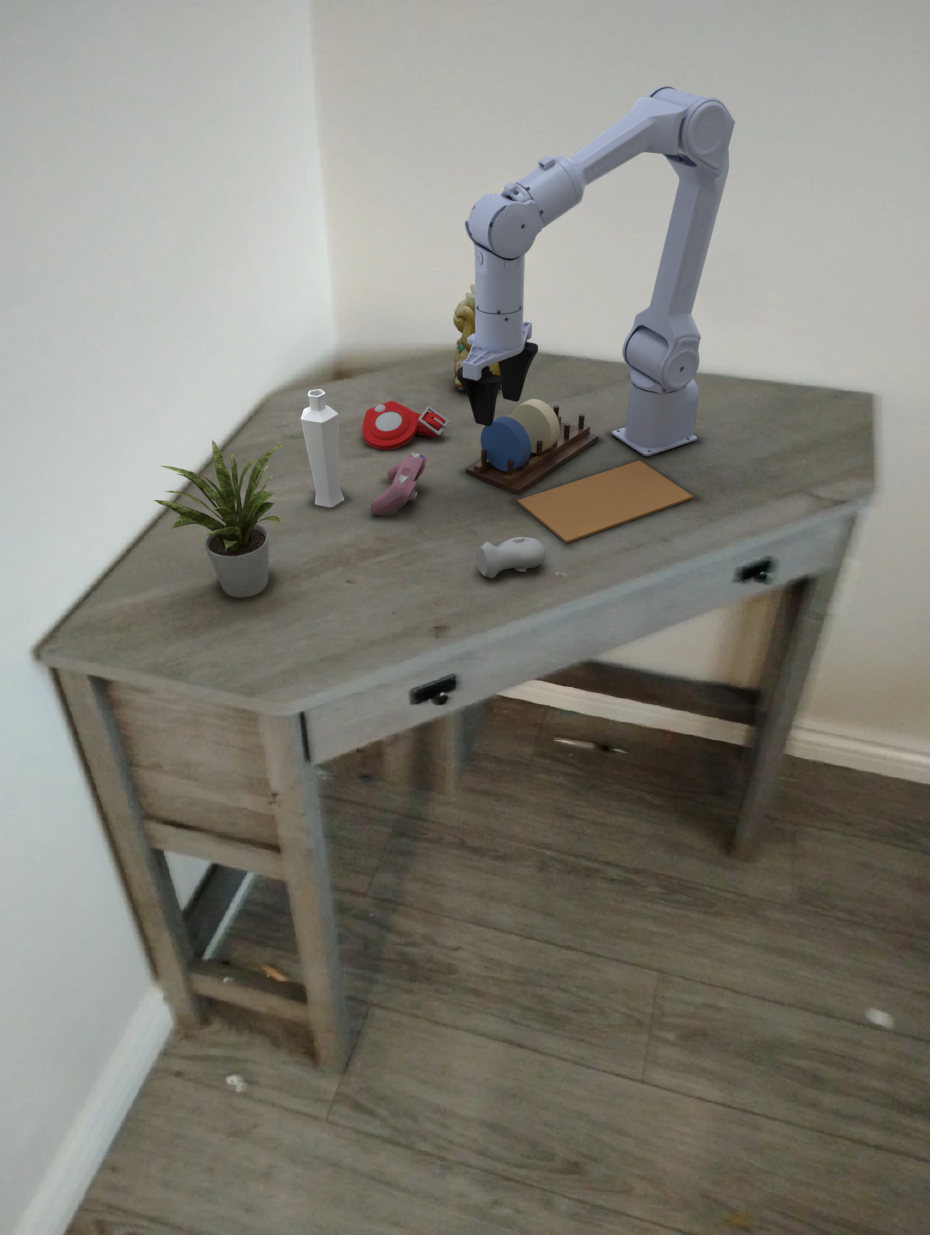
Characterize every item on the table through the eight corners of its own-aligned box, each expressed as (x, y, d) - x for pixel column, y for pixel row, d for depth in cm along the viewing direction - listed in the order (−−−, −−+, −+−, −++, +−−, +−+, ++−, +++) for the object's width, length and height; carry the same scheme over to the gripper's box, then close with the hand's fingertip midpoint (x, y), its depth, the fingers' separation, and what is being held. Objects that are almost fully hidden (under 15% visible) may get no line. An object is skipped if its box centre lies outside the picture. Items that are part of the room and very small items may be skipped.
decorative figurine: (457, 370, 152) (456, 278, 142) (508, 372, 151) (509, 279, 142) (450, 396, 144) (448, 300, 135) (503, 398, 144) (505, 302, 134)
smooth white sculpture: (536, 561, 112) (550, 573, 108) (472, 570, 111) (484, 583, 106) (534, 526, 111) (549, 537, 106) (469, 535, 109) (481, 547, 104)
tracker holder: (371, 450, 129) (348, 405, 135) (378, 471, 133) (355, 427, 138) (451, 418, 131) (425, 375, 136) (455, 440, 134) (430, 397, 140)
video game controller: (398, 530, 119) (420, 490, 114) (365, 513, 118) (386, 472, 113) (416, 490, 126) (437, 451, 122) (386, 474, 125) (407, 434, 121)
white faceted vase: (352, 493, 123) (341, 387, 113) (338, 510, 120) (326, 402, 110) (320, 487, 124) (307, 382, 114) (306, 504, 121) (291, 397, 111)
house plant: (250, 530, 116) (228, 410, 106) (334, 566, 110) (320, 442, 100) (161, 587, 107) (128, 462, 97) (248, 630, 101) (222, 501, 91)
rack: (546, 422, 138) (548, 398, 135) (598, 440, 133) (600, 416, 131) (465, 473, 127) (464, 448, 124) (518, 495, 122) (518, 469, 120)
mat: (639, 462, 128) (639, 460, 128) (692, 498, 121) (693, 496, 121) (517, 502, 121) (517, 500, 120) (566, 543, 113) (566, 541, 113)
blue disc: (489, 456, 128) (489, 409, 123) (530, 472, 124) (532, 425, 120) (480, 462, 126) (480, 415, 122) (521, 478, 123) (523, 430, 119)
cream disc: (517, 438, 132) (519, 392, 127) (558, 454, 128) (561, 407, 124) (509, 444, 130) (510, 398, 126) (550, 459, 127) (552, 412, 122)
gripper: (497, 281, 116) (496, 383, 125) (439, 320, 106) (442, 428, 115) (548, 290, 114) (543, 393, 122) (493, 331, 104) (492, 440, 112)
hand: (497, 411), depth 118 cm, fingers open, 7 cm apart
